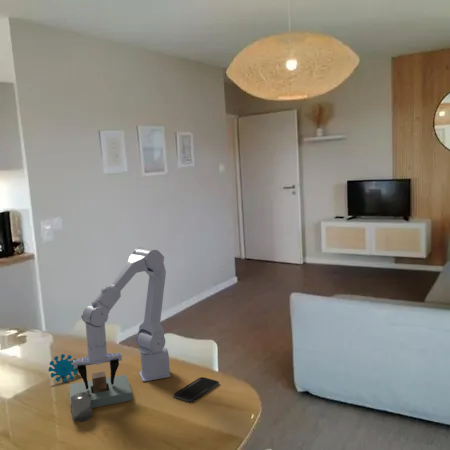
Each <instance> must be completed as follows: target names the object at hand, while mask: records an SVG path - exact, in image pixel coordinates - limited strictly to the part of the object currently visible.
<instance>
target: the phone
mask: <svg viewBox="0 0 450 450" xmlns="http://www.w3.org/2000/svg"><path fill="white" fill-rule="evenodd" d="M219 385H220V382H219V381H218V380H215V379H213V378H212V379H211V378H207V377H203V376H202V377H198V378H197V379H195V380H194V381H192V382H191V383H189V384H187V385H186V386H184V387H183V388H181V389H179V390H178V391H176V392H174V393H173V399H175V398H176V399H175V400H178V401H182V400H183V401H182V402H185V401H186V403H188V402H189V404H192V403H191V402H193V403H195V402H196V401H197V399H198V400H199V399H200V398H202V397H204V396H205V395H207V394H208V393H209V392H211V391H212V390H213V388H214V389H215V388H217V387H218V386H219ZM210 390H211V391H210ZM207 392H208V393H207ZM204 394H205V395H204ZM195 400H196V401H195ZM194 401H195V402H194Z"/></svg>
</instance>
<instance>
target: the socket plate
mask: <svg viewBox="0 0 450 450" xmlns="http://www.w3.org/2000/svg"><path fill="white" fill-rule="evenodd" d="M87 381H88V389H86V386H85V383H84V381H81V382H76V383H71V384H69V401H70V402H69V403H70V404H69V405H70V406H71V397H72V396H73V395H75V394H77V393H82V392H86V393H90V395H91V406H92V409H94V408H99V407H103V406H109V405H114V404H119V403H124V402H129V401H133V392H132V389H131V385H130V383H129V382H130V381H129V379H128V376H127V374H122V375H121V374H120V375H115V377H114V384H113V385H111V376H110V377H106V385H107V391H103V392H98V393H93V382H92V380H87ZM70 412H71V413H72V409H71V408H70Z"/></svg>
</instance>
